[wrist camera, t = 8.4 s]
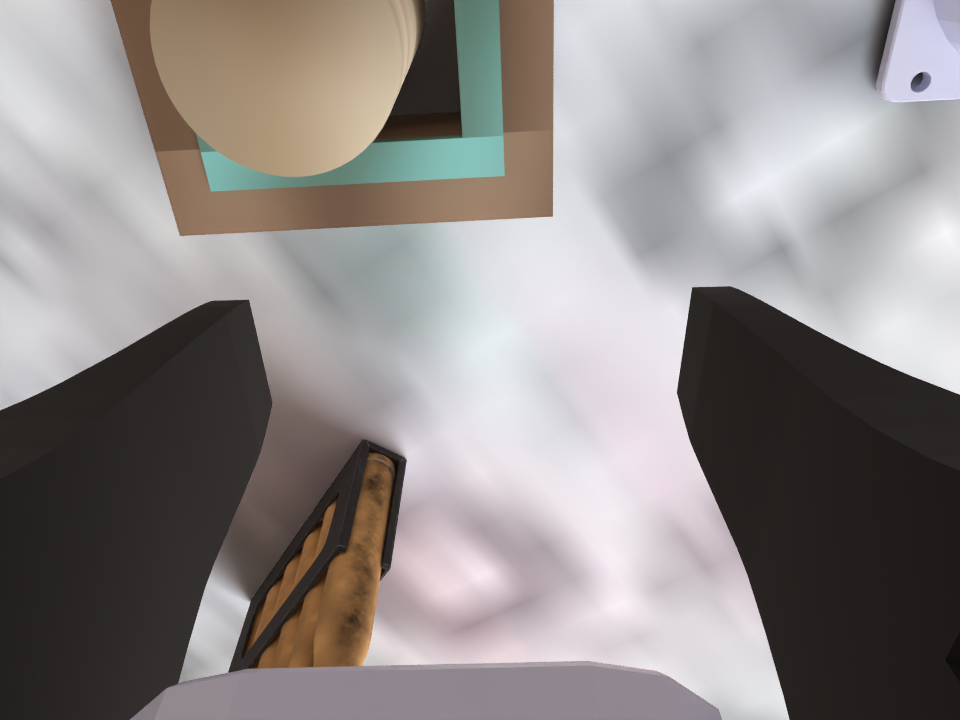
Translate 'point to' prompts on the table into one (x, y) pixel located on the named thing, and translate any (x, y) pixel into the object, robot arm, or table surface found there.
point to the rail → (383, 141)
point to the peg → (285, 75)
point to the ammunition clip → (329, 573)
